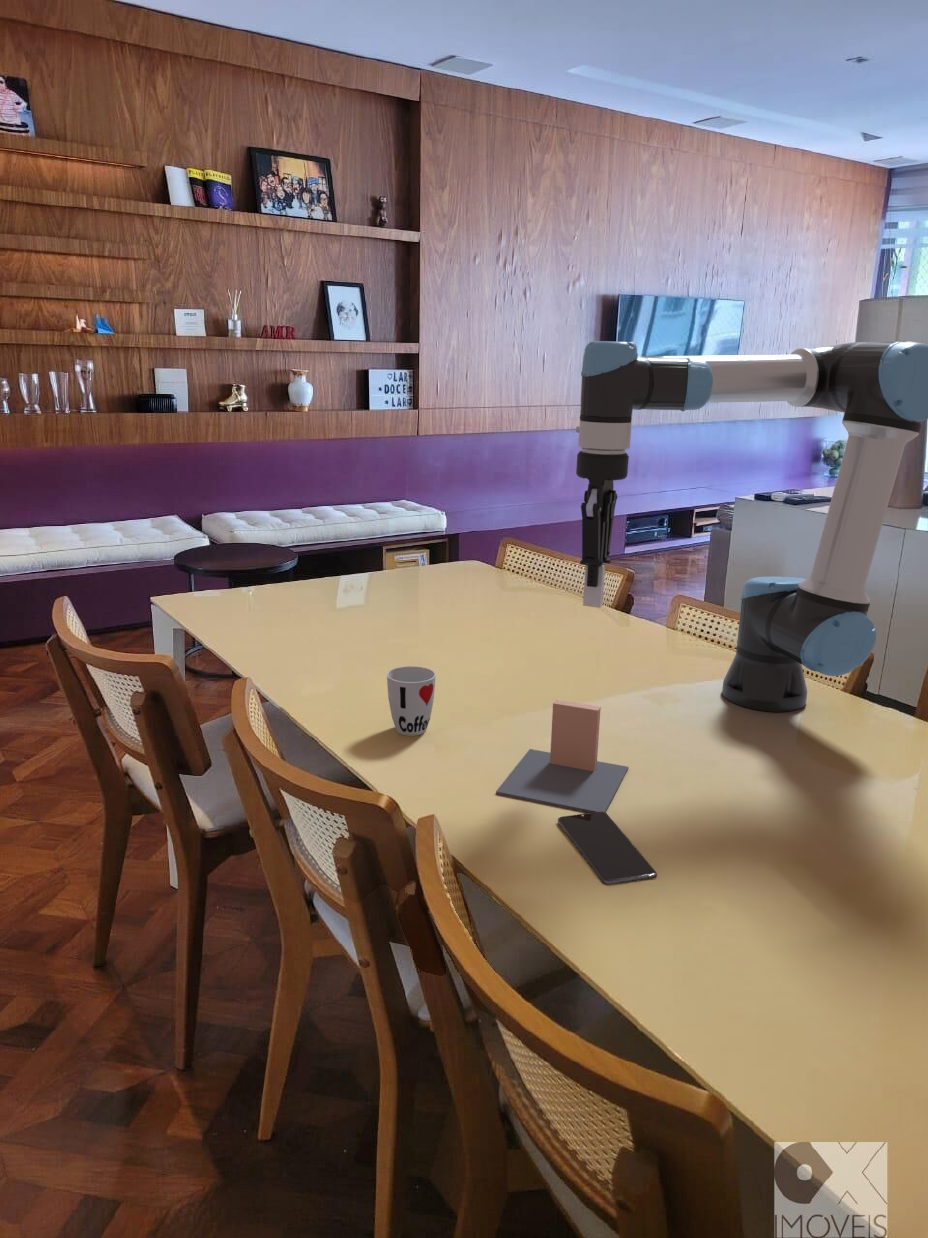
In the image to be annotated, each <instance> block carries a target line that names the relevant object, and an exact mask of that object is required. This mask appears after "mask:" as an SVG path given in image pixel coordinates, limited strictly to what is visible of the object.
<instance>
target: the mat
mask: <svg viewBox="0 0 928 1238" xmlns="http://www.w3.org/2000/svg"><path fill="white" fill-rule="evenodd" d="M550 753H551V751H550V752H549V751H543V750H538V749H533V748H529V749H528V751H526V753H525V754H524V756H522V758H521V759H520V761H519V762H518V763H517V764H516V765H515V767H514V769H513V770H511V772H510V773H509V774H508V776H507V777H506V778H505V779H504V781H503V782H502V783H501V784H500V786H499V787H498V788H497V790H496V792H495V794H496V795H500V796H505V797H509V798H514V799H520V800H525V801H530V802H535V803H540V804H545V805H550V806H555V807H560V808H564V809H569V810H573V811H578V812H579V811H580V812H584V813H594V812H605V813H607V811H608V810H609V807H610V806H611V803H612V801H613V800H614V799H615V796H616V794H617V793H618V790H619V788H620V786H621V785H622V782H623V781H624V780H625V779H624V778H625V777H626V775H627V772H628V771H629V767H630V766H626V765H621V764H616V763H609V762H606V761H605V762H604V761H599V760H597V768H596V769H595V771H589V770H583V769H578V768H572V767H567V766H562V765H556V764H551V763H550Z"/></svg>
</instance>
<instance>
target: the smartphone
mask: <svg viewBox="0 0 928 1238" xmlns="http://www.w3.org/2000/svg"><path fill="white" fill-rule="evenodd" d="M557 823H558V824H559V826H560V827H561V828H562V830H563V831H564V833H565V834H566V836H567V837H568V838H569V839H570V841H571V842H572V844H573V845H574V846H575V848H576V850H577V851H578V852H579V853H580V855H581V856H582V857H583V858H584V860H585V861H586V863H587V864H588V865H589V867H590V868H591V870H592V871H593V872H594V873H595V875H596V876H597V878H598V879H599V880H600V881H601V883H602V884H603V885H604V886H605V885H606V886H612V885H613V886H614V885H619V884H625V883H626V884H627V883H629V882H631V881H634V882H641V881H647V880H653V879H655V878H657V876H658V873H657V871H656V869H654V867H652V865H651V864H650V863H649V861H648V860H647V859H646V858H645V857H644V856H643V855H642V853H641V852H640V851H639V850H638V849H637V847H636V846H635V845H634V844H633V843H632V842H631V840H630V839H629V838H628V837H627V836H626V834H625V833H624V832H623V831H622V830H621V829H620V828H619V826H618V825H617V823H615V821H614V820H613V819H612V818H611V816H610V815H609V814H608V813H607V812H606V813H605V812H594V813H588V812H585V813H579V814H571V815H565V816H560V817H558V818H557Z"/></svg>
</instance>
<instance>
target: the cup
mask: <svg viewBox="0 0 928 1238" xmlns="http://www.w3.org/2000/svg"><path fill="white" fill-rule="evenodd" d="M436 676H437V674H436V672H435V671H434V670H433V669H431V668H428V667H423V666H418V665H417V666H416V665H409V666H405V665H404V666H399V667H395V668H392V669H390V670H389V671H387V673H386V685H387V696H388V699H387V700H388V704H389V708H390V709H389V710H390V714H391V719H392V721H393V725H394V728H395V731H396V732H397V733H398V734H399V735H403V736H407V737H415V736H420V735H423V734H424V733H426V731H427V729H428V725H429V723H430V720H431V716H432V712H433V705H434V701H435V687H436Z"/></svg>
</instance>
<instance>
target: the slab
mask: <svg viewBox="0 0 928 1238" xmlns="http://www.w3.org/2000/svg"><path fill="white" fill-rule="evenodd" d="M600 721H601V706H596V705H592V704H591V705H590V704H586V703H580V702H579V703H577V702H572V701H566V700H562V699H561V700H559V699H555V700H554V701H553V703H552V715H551V736H550V737H551V739H550V763H551V764H556V765H562V766H567V767H572V768H578V769H583V770H589V771H595V769H596V768H597V761H598V751H599V737H600V736H599V735H600V723H601V722H600Z"/></svg>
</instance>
